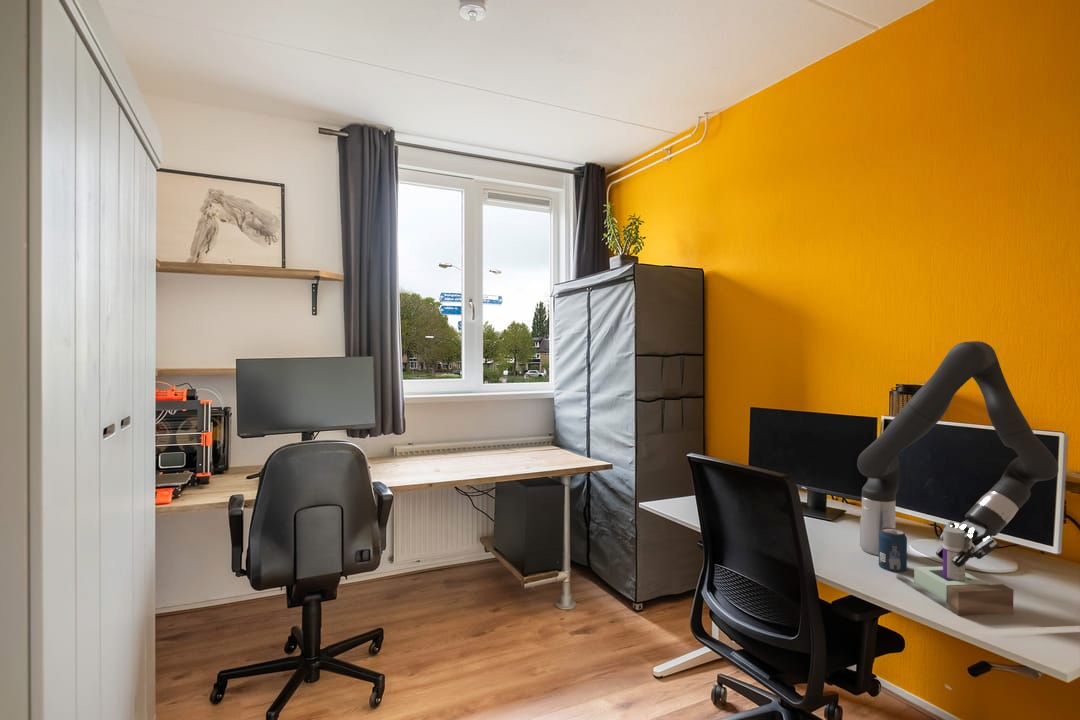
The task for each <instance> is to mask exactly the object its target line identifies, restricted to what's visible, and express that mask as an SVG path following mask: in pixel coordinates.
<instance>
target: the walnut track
mask: <svg viewBox="0 0 1080 720" xmlns="http://www.w3.org/2000/svg"><path fill="white" fill-rule="evenodd" d="M895 576H896V578H895V579H897V580H898V581H901V582H902V583H903V584H904V585H907V586H908V587H910V588H911V589H913V590H914V591H916V592H918V593H920V594H922V595H923V596H925V597H926V598H928V599H930V600H931V601H933V602H935V603H936V604H938V605H940V606H941V607H943V608H944V609H946V610H947V611H950V613H953V614H955V615H956V617H957V616H958V617H965V616H989V615H990V616H991V615H992V616H993V615H1011V614H1012V615H1013V614H1014V596H1015V593H1014V588H1011V587H1009V586H1007V585H1005V584H1004V583H1001V584H998V583H996V584H988V585H967V586H949V595H948V603H947V602H946V601H944V600H942V599H940V598H939V597H937V596H935V595H934V594H932V593H930V592H929V591H927V590H925V589H924V588H922V587H920V586H919V585H917V584H915V583H914V581H912V580H910V579H909V578H907V577H905V576H904V575H901V574H896V575H895Z"/></svg>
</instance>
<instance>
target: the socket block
mask: <svg viewBox="0 0 1080 720" xmlns="http://www.w3.org/2000/svg"><path fill="white" fill-rule="evenodd" d="M913 568H914V571H913V573H914V574H913V576H914V577H913V579H914V580H913V583H915V584H917V585H919V586H920V587H922V588H924V589H925V590H927V591H929V592H930V593H932V594H934V595H935V596H937V597H939V598H940V599H942V600H944V601H946V602H947V603H948V595H949V586H967V585H989V583H987V582H986V581H984V580H982V579H980V578H977V577H975V576H974V575H972V574H970V573H968V572H966V571H965V580H964V581H947V580H945V579H943V565H941V566H940V565H939V566H919V567H917V566H915V567H913Z"/></svg>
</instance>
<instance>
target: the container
mask: <svg viewBox="0 0 1080 720" xmlns="http://www.w3.org/2000/svg"><path fill="white" fill-rule="evenodd" d="M945 527H946V526H945ZM945 527H943V531H944V532H943V531H942V532H943V540H942V544H943V559H942V566H943V579H945V580H947V581H964V580H965V572H966V563H965V564H964V565H963V566H961V567H957V566H955V565H954V564H953V563H952V560H953V559H954V558H955V557H956V556H957V555H958V554H959V552H960V551H963V548H964V546H965V531H964V530H961V529H958V528H952V527H946V528H945Z"/></svg>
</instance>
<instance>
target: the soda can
mask: <svg viewBox="0 0 1080 720" xmlns="http://www.w3.org/2000/svg"><path fill="white" fill-rule="evenodd" d="M881 530H882V531H881V532H880V534H879V555H878V566H879V568H881V569H882V570H885V571H889V572H893V573H905V572H906V571H907V570H908V561H907V560H908V538H907V536H906V534H905V533H906V532H905V530H902V529H900V528H896V527H895V528H888V527H887V528H882V529H881Z"/></svg>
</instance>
